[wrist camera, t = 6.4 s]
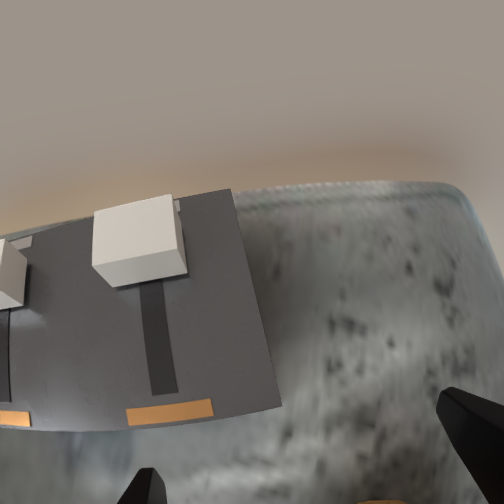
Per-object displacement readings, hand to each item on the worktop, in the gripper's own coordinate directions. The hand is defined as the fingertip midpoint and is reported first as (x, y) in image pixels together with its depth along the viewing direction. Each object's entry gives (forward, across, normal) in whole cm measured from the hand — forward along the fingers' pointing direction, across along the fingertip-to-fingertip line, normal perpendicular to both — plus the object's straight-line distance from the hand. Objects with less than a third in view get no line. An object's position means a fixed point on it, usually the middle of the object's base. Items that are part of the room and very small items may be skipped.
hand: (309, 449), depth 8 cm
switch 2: (+10, +5, -4) cm, 12 cm away
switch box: (+14, +9, +3) cm, 17 cm away
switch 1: (+10, +15, -4) cm, 19 cm away
